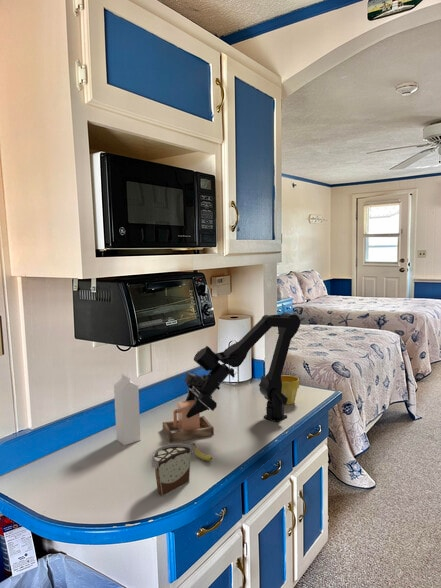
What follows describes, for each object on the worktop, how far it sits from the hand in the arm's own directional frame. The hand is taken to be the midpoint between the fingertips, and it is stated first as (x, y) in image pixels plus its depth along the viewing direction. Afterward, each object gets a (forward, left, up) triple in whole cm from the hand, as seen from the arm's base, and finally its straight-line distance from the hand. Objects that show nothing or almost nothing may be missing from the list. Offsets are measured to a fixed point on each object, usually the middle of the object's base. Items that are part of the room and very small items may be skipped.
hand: (184, 413), depth 150 cm
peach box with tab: (0, 0, -7) cm, 7 cm away
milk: (+17, -9, -7) cm, 20 cm away
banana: (+9, +19, -7) cm, 22 cm away
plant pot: (-47, +8, -7) cm, 48 cm away
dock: (-1, 0, -7) cm, 7 cm away
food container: (+25, +23, -7) cm, 34 cm away
